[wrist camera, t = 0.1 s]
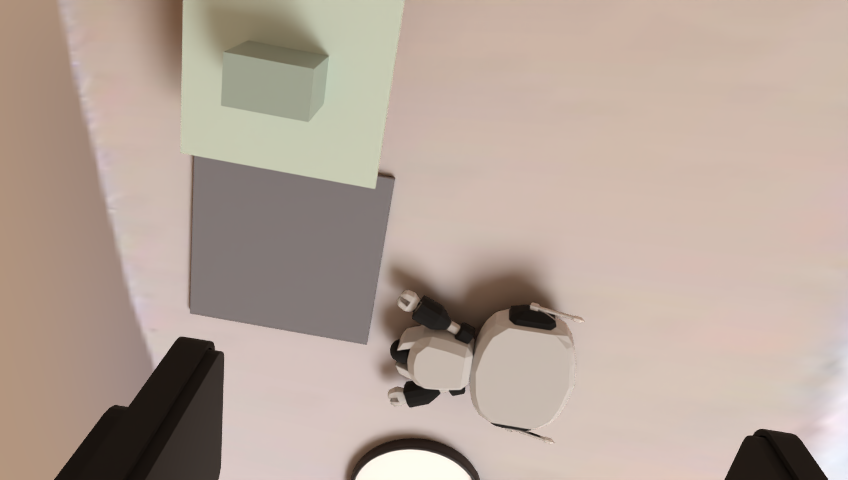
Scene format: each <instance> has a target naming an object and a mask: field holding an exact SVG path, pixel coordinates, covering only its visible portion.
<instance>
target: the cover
mask: <svg viewBox="0 0 848 480" xmlns="http://www.w3.org/2000/svg"><path fill="white" fill-rule="evenodd" d="M404 3H405V0H183V25H182V86H181V146H180V153H183V154H189V155H194V156H199V157H205V158H210V159H216V160H221V161H226V162H232V163H237V164H243V165H248V166H253V167H259V168H264V169H270V170H275V171H280V172H286V173H291V174H297V175H302V176H307V177H313V178H318V179H324V180H329V181H334V182H340V183H345V184H351V185H356V186H361V187H367V188H372V189H375V187H376V183H377V176H378V170H379V163H380V157H381V151H382V144H383V138H384V131H385V125H386V119H387V112H388V106H389V99H390V93H391V86H392V80H393V74H394V67H395V61H396V54H397V48H398V42H399V35H400V29H401V22H402V16H403V10H404Z"/></svg>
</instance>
